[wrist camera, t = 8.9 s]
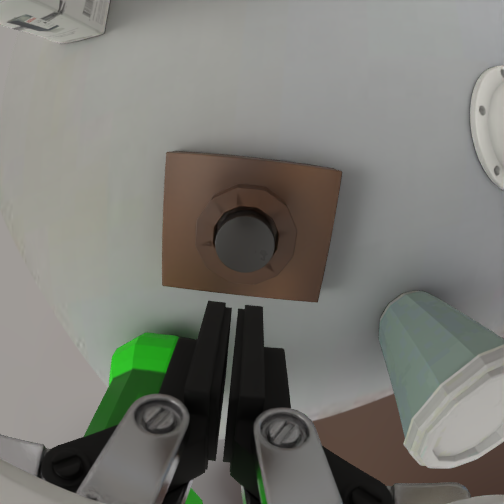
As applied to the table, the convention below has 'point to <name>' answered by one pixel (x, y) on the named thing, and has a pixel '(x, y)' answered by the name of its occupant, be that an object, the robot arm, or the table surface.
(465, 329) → the disposable coffee cup
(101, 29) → the ink box
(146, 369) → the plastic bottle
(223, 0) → the table surface
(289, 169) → the block
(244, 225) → the bell button
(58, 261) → the table surface
